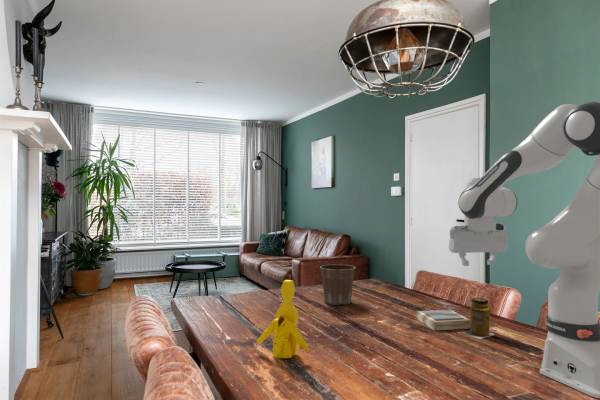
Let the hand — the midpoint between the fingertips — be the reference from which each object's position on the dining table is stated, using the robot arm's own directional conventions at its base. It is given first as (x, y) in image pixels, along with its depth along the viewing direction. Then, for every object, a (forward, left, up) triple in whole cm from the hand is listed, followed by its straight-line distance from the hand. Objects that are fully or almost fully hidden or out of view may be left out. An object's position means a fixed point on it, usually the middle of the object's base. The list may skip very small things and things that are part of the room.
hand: (478, 265), depth 138 cm
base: (+13, +6, -24) cm, 28 cm away
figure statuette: (-8, +68, -24) cm, 73 cm away
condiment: (0, 0, -24) cm, 24 cm away
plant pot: (+50, +37, -24) cm, 67 cm away
